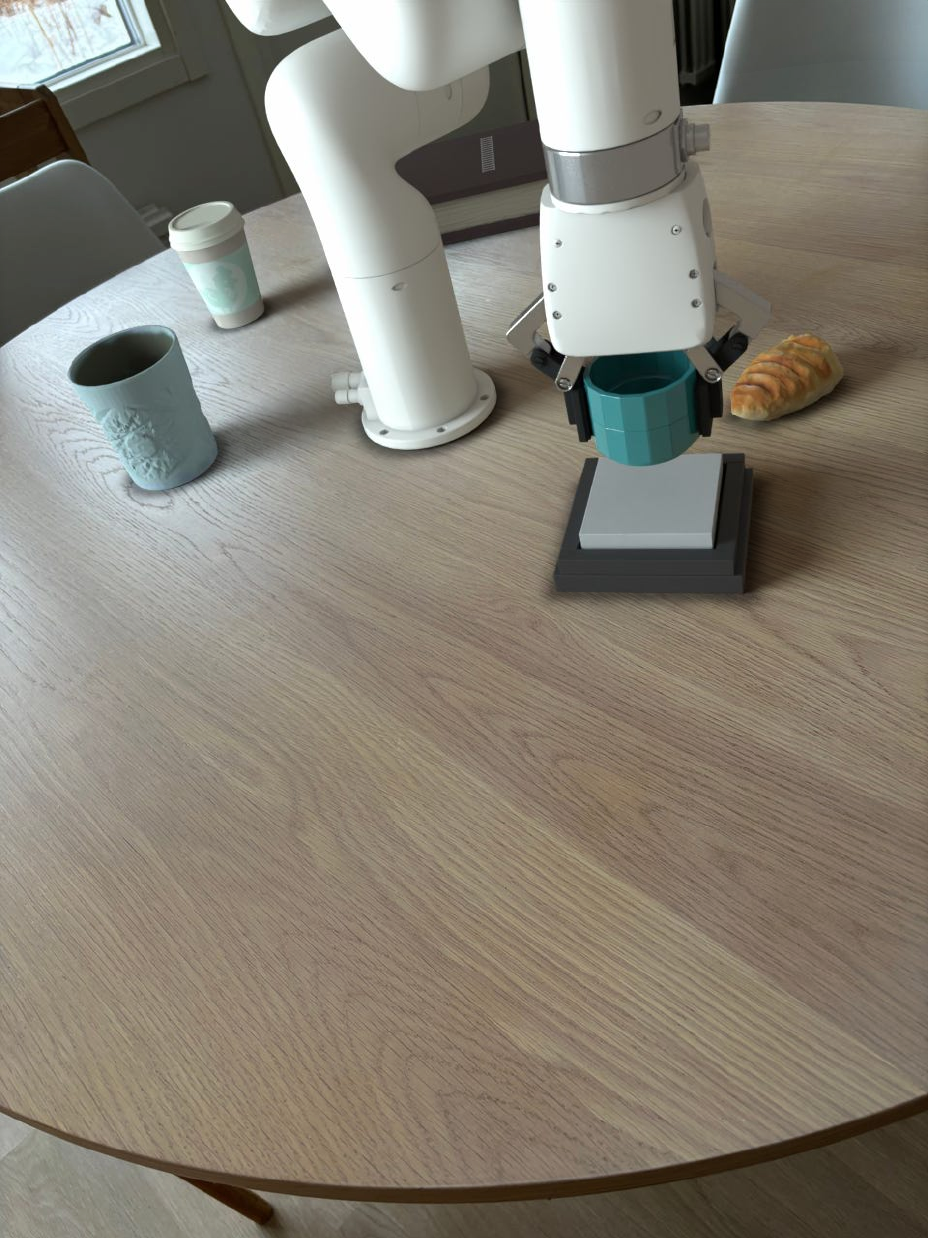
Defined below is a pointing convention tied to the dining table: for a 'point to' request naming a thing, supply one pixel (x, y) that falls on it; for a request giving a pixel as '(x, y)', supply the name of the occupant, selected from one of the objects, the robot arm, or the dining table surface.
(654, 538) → the pan
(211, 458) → the embossed blue pot
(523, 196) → the book
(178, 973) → the dining table surface
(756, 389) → the pastry
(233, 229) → the coffee cup
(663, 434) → the teal faceted cup
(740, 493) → the scale
